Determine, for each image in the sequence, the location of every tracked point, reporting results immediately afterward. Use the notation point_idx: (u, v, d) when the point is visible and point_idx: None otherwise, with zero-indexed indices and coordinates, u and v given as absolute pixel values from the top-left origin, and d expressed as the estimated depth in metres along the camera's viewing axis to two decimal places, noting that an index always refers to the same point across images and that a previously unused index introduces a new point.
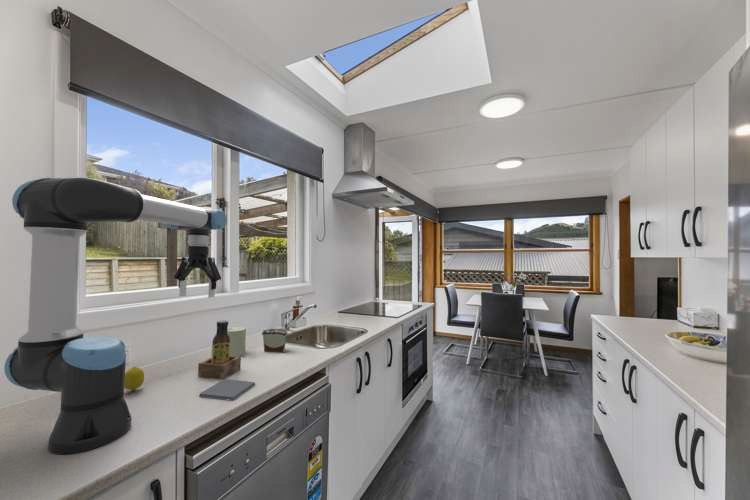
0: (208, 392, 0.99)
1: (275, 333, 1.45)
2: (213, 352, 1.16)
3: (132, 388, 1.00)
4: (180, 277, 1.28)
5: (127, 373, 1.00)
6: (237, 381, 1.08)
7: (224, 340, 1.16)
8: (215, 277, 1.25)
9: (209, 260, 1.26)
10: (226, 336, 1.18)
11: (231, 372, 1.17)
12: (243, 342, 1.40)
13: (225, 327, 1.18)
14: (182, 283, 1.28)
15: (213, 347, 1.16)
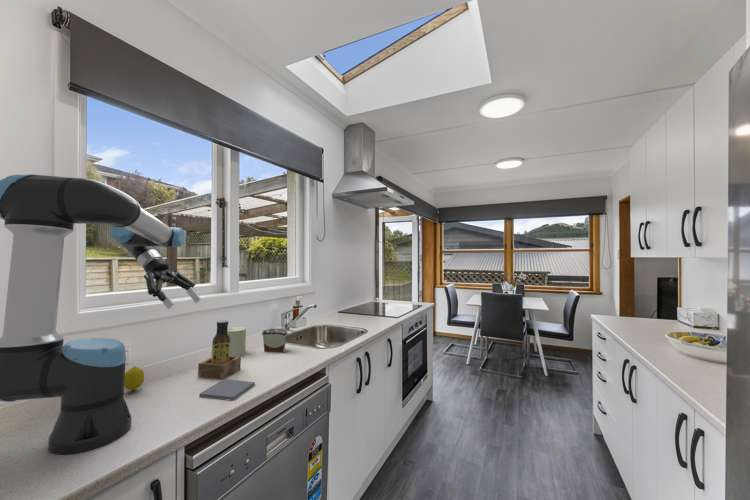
0: (208, 392, 0.99)
1: (275, 333, 1.45)
2: (213, 352, 1.16)
3: (132, 388, 1.00)
4: (159, 288, 1.13)
5: (127, 373, 1.00)
6: (237, 381, 1.08)
7: (224, 340, 1.16)
8: (192, 283, 1.29)
9: (177, 272, 1.27)
10: (226, 336, 1.18)
11: (231, 372, 1.17)
12: (243, 342, 1.40)
13: (225, 327, 1.18)
14: None
15: (213, 347, 1.16)
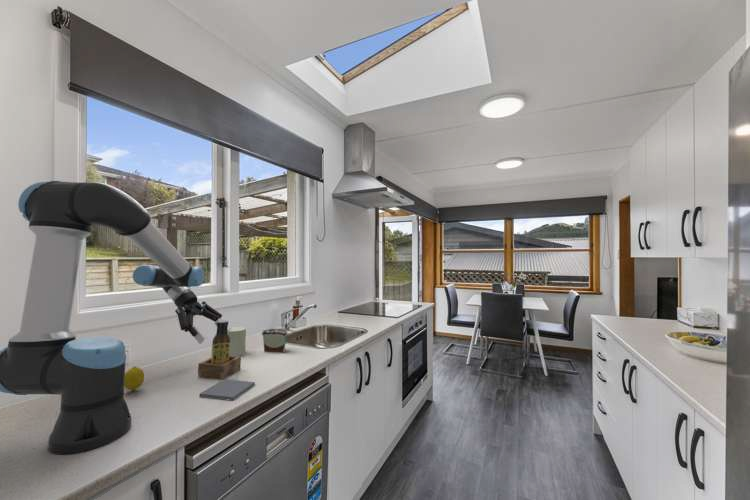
0: (208, 392, 0.99)
1: (275, 333, 1.45)
2: (213, 352, 1.16)
3: (132, 388, 1.00)
4: (191, 323, 1.14)
5: (127, 373, 1.00)
6: (237, 381, 1.08)
7: (224, 340, 1.16)
8: (220, 314, 1.30)
9: (205, 303, 1.28)
10: (226, 336, 1.18)
11: (231, 372, 1.17)
12: (243, 342, 1.40)
13: (225, 327, 1.18)
14: None
15: (213, 347, 1.16)
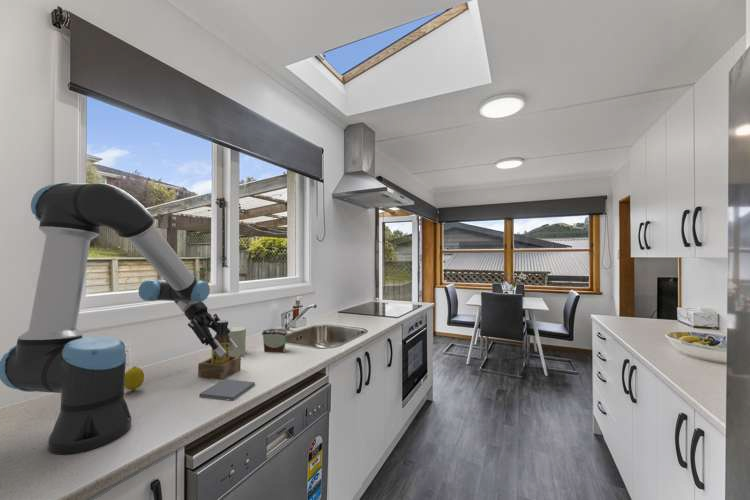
0: (208, 392, 0.99)
1: (275, 333, 1.45)
2: (213, 352, 1.16)
3: (132, 388, 1.00)
4: (211, 336, 1.15)
5: (127, 373, 1.00)
6: (237, 381, 1.08)
7: (224, 340, 1.16)
8: (228, 329, 1.25)
9: (216, 316, 1.26)
10: (226, 336, 1.18)
11: (231, 372, 1.17)
12: (243, 342, 1.40)
13: (225, 327, 1.18)
14: None
15: None
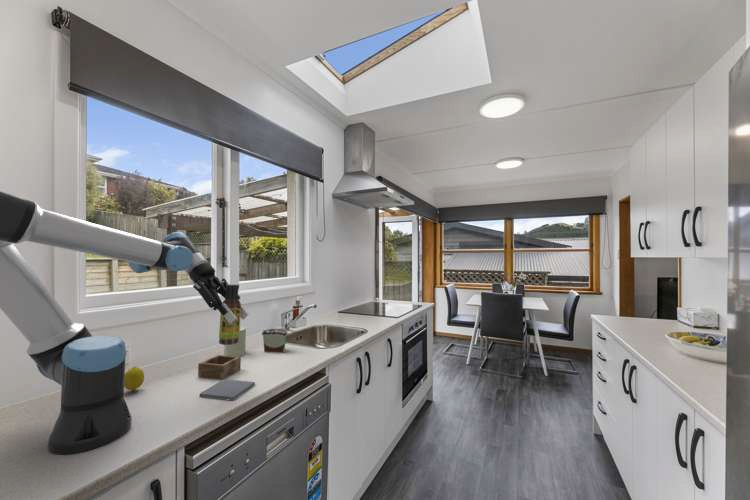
0: (208, 392, 0.99)
1: (275, 333, 1.45)
2: (222, 318, 1.01)
3: (132, 388, 1.00)
4: (219, 300, 1.00)
5: (127, 373, 1.00)
6: (237, 381, 1.08)
7: (235, 306, 1.02)
8: (238, 296, 1.10)
9: (225, 280, 1.11)
10: (237, 301, 1.03)
11: (231, 372, 1.17)
12: (243, 342, 1.40)
13: (235, 291, 1.03)
14: None
15: None
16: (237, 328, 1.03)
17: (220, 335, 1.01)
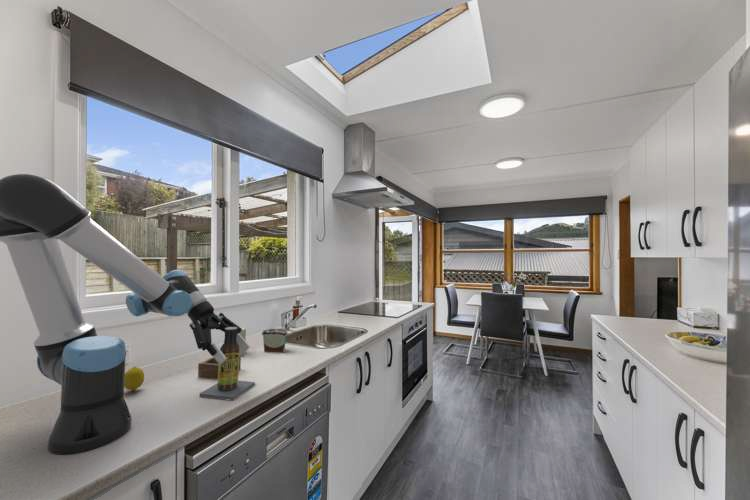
0: (208, 392, 0.99)
1: (275, 333, 1.45)
2: (220, 364, 1.00)
3: (132, 388, 1.00)
4: (209, 340, 0.97)
5: (127, 373, 1.00)
6: (237, 381, 1.08)
7: (233, 350, 1.01)
8: (239, 328, 1.13)
9: (222, 315, 1.11)
10: (235, 345, 1.03)
11: None
12: None
13: (234, 335, 1.03)
14: None
15: None
16: (236, 373, 1.02)
17: (218, 380, 1.00)
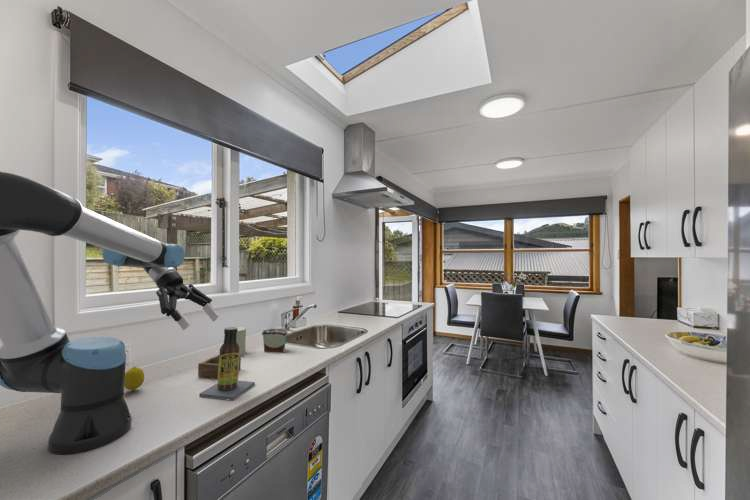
0: (208, 392, 0.99)
1: (275, 333, 1.45)
2: (220, 364, 1.00)
3: (132, 388, 1.00)
4: (174, 306, 0.99)
5: (127, 373, 1.00)
6: (237, 381, 1.08)
7: (233, 350, 1.01)
8: (209, 299, 1.16)
9: (192, 286, 1.14)
10: (235, 345, 1.03)
11: None
12: (243, 342, 1.40)
13: (234, 335, 1.03)
14: None
15: (220, 358, 1.01)
16: (235, 373, 1.02)
17: (218, 380, 1.00)
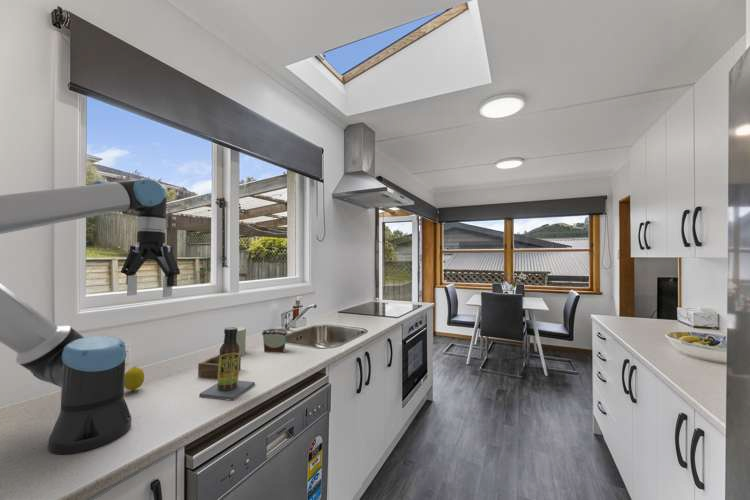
0: (208, 392, 0.99)
1: (275, 333, 1.45)
2: (220, 364, 1.00)
3: (132, 388, 1.00)
4: (128, 271, 1.00)
5: (127, 373, 1.00)
6: (237, 381, 1.08)
7: (233, 350, 1.01)
8: (171, 271, 0.97)
9: (164, 249, 0.98)
10: (235, 345, 1.03)
11: None
12: (243, 342, 1.40)
13: (234, 335, 1.03)
14: (131, 278, 1.01)
15: (220, 358, 1.01)
16: (235, 373, 1.02)
17: (218, 380, 1.00)
